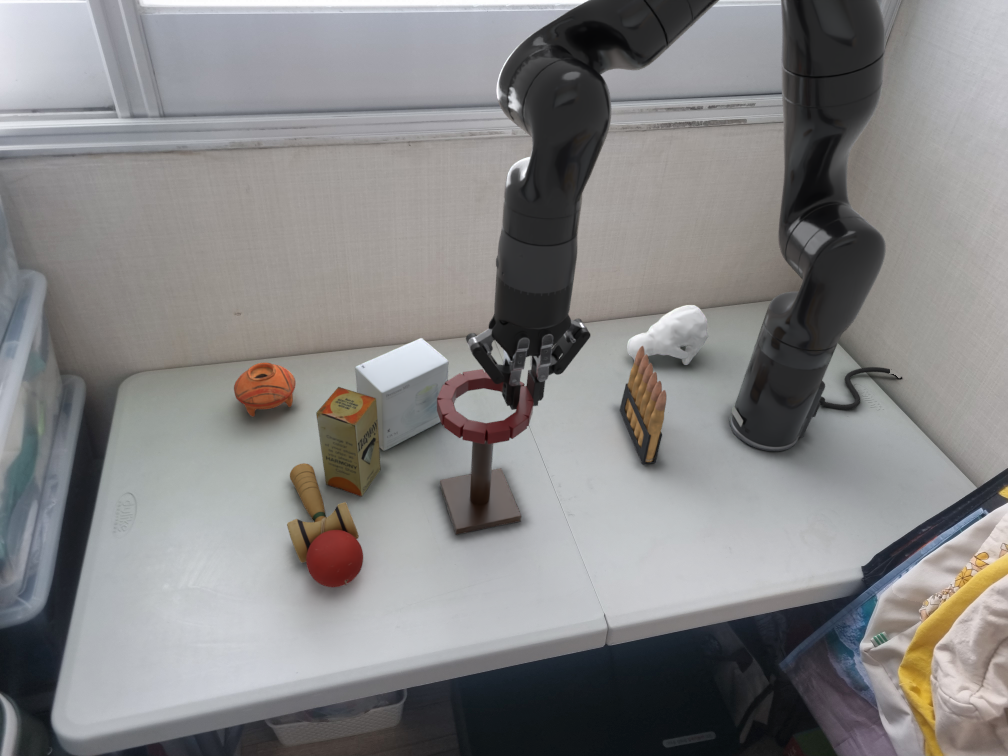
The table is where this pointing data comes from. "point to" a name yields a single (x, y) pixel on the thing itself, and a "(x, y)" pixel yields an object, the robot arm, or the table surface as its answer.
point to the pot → (264, 387)
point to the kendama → (324, 534)
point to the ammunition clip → (644, 408)
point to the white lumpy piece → (673, 335)
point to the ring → (475, 429)
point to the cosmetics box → (404, 389)
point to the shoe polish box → (349, 440)
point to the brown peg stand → (479, 495)
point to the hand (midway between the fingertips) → (522, 402)
